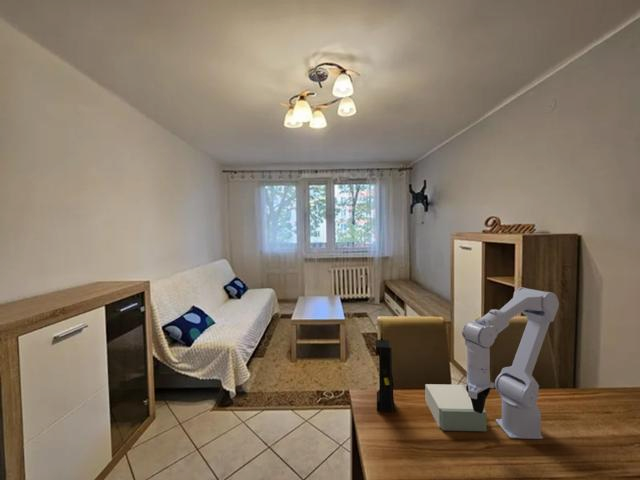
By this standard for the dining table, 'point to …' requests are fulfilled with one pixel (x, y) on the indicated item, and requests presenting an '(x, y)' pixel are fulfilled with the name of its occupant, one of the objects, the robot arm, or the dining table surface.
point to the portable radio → (385, 376)
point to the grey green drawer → (463, 420)
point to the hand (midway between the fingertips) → (478, 411)
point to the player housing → (446, 398)
